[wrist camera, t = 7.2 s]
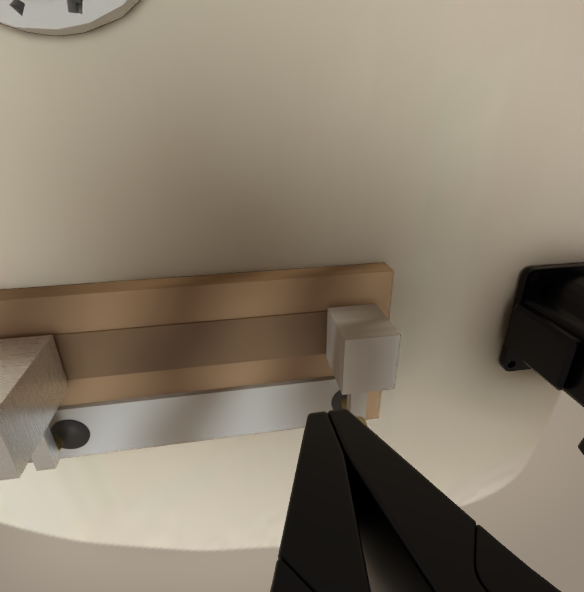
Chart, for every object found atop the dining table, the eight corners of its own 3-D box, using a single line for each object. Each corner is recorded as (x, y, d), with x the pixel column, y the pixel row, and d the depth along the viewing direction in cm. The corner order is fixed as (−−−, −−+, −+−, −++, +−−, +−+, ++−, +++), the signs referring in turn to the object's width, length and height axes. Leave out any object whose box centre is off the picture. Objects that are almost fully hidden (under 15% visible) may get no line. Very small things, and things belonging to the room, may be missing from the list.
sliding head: (52, 334, 17) (-8, 414, 13) (85, 439, 20) (45, 537, 15) (-9, 340, 17) (-93, 424, 12) (32, 446, 19) (-25, 548, 15)
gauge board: (384, 262, 20) (423, 298, 16) (371, 404, 24) (400, 460, 20) (-59, 293, 17) (-140, 347, 13) (7, 448, 21) (-41, 524, 17)
